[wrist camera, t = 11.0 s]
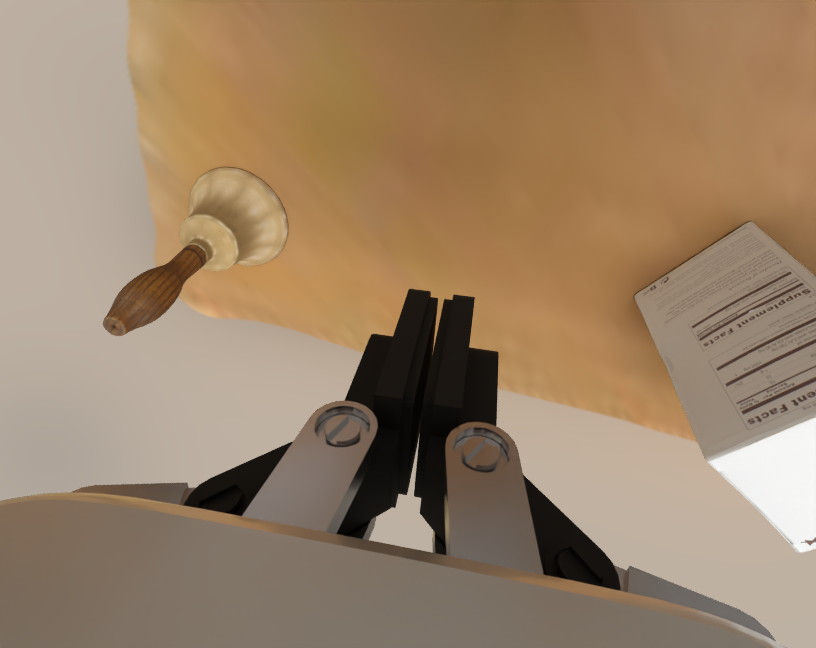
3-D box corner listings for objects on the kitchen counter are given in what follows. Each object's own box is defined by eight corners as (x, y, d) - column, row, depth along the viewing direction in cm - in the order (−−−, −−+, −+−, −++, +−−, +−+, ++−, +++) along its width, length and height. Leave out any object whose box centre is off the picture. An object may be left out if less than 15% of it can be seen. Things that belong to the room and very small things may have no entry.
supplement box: (819, 305, 36) (1022, 497, 22) (698, 368, 40) (801, 561, 26) (749, 215, 33) (930, 368, 19) (629, 294, 37) (703, 464, 24)
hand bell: (281, 170, 37) (157, 262, 23) (294, 268, 41) (196, 391, 28) (179, 163, 38) (7, 248, 24) (203, 259, 42) (68, 375, 29)
